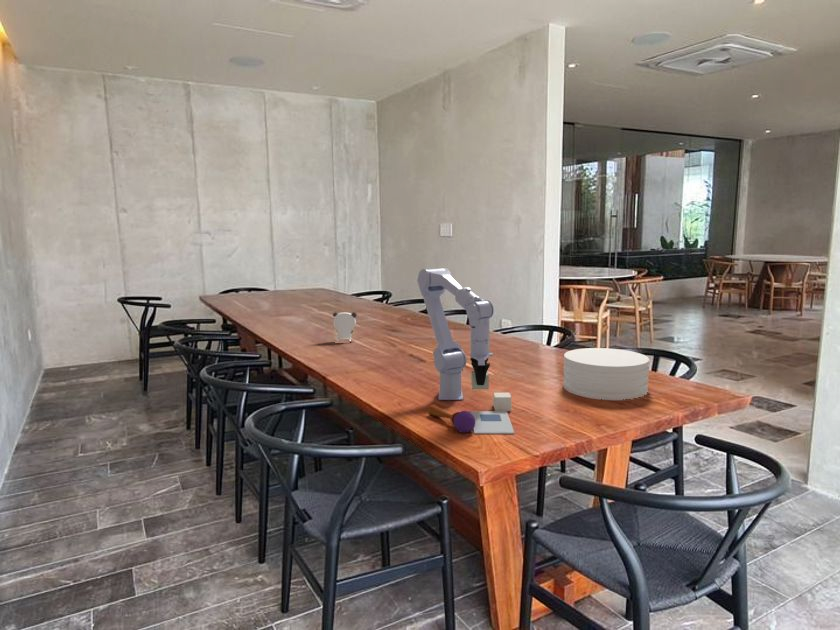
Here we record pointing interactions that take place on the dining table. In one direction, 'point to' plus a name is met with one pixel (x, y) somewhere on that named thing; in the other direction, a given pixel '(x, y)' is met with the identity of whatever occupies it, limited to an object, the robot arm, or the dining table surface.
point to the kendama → (455, 418)
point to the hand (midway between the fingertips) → (479, 382)
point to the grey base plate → (492, 422)
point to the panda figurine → (344, 324)
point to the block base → (475, 386)
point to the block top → (502, 401)
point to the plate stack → (606, 373)
